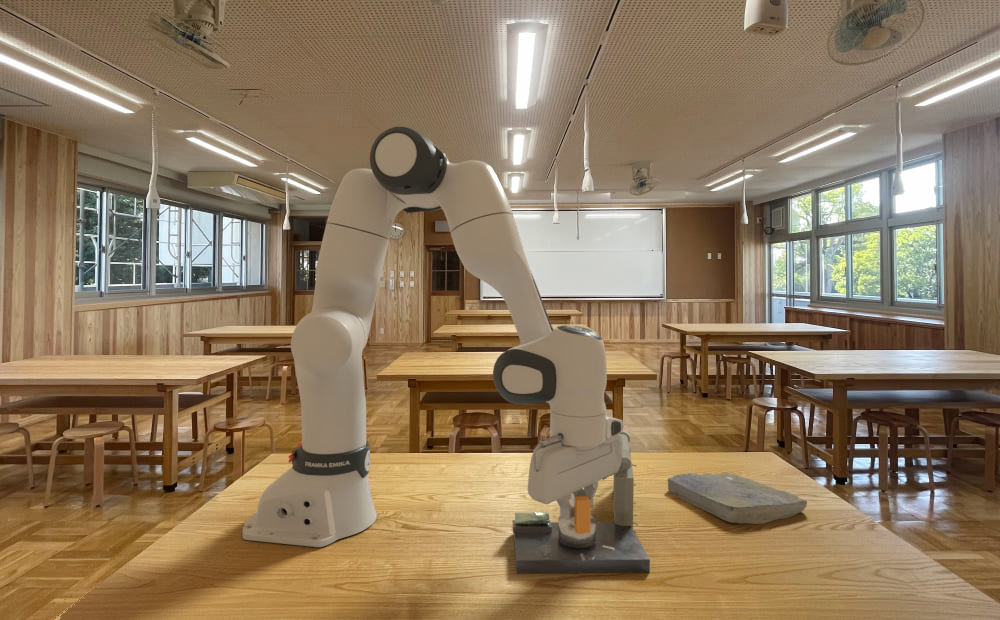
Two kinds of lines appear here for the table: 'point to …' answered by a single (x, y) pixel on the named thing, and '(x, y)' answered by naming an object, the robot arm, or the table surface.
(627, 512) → the geiger counter
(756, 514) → the grey stone slab
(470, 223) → the robot arm
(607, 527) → the stand
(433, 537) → the table surface
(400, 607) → the table surface
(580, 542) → the knob
